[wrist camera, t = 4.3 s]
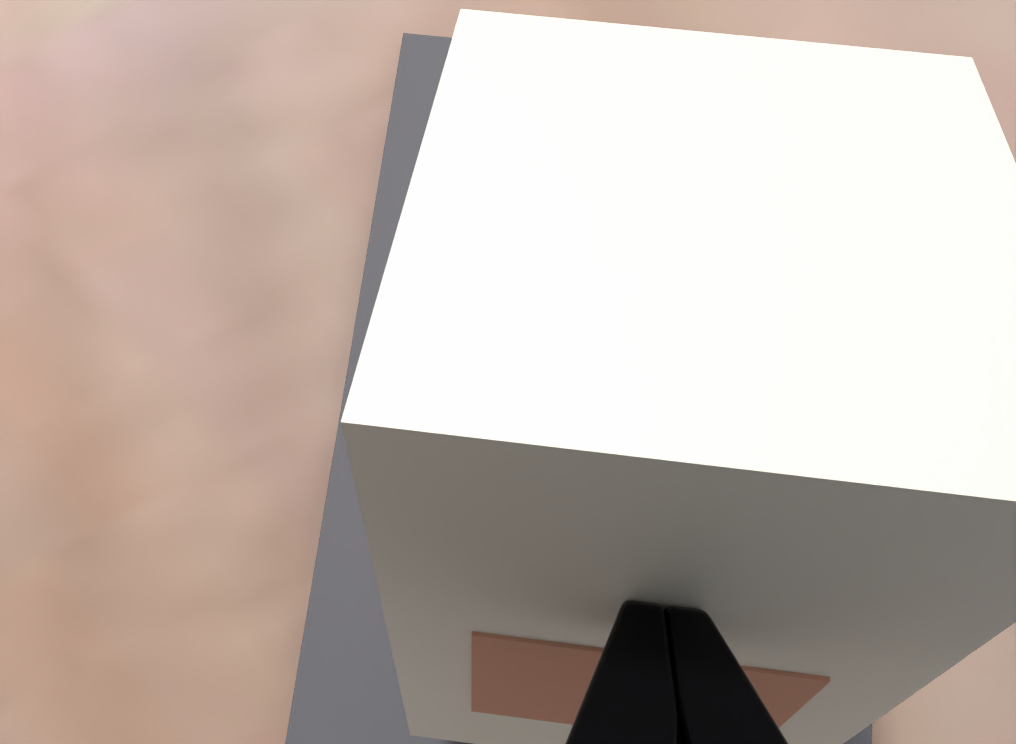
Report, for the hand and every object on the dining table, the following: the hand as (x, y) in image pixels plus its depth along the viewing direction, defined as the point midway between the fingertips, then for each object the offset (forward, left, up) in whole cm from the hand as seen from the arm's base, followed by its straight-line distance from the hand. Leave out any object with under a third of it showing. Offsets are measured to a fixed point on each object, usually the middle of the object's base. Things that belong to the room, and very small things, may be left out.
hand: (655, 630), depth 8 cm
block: (0, 0, -7) cm, 7 cm away
